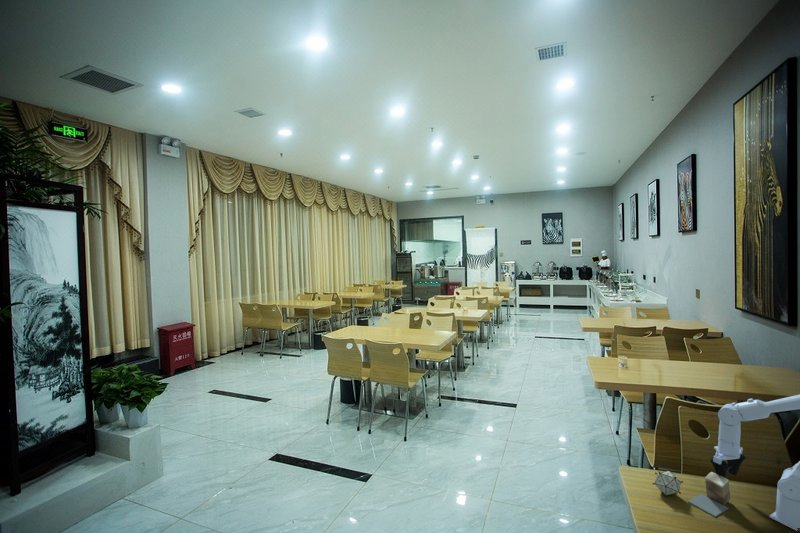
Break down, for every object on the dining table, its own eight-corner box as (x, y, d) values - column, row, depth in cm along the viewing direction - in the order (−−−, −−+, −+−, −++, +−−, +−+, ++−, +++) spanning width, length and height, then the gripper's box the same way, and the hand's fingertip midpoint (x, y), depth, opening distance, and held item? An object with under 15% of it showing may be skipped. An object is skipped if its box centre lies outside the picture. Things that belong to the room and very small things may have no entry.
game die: (673, 506, 139) (692, 495, 133) (648, 495, 141) (665, 484, 134) (669, 481, 146) (686, 469, 140) (645, 471, 147) (661, 459, 141)
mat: (728, 509, 132) (728, 507, 132) (715, 517, 129) (715, 516, 129) (701, 494, 139) (701, 493, 139) (688, 502, 136) (688, 501, 136)
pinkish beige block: (730, 499, 136) (728, 479, 134) (724, 505, 134) (722, 485, 132) (713, 490, 140) (711, 471, 138) (707, 497, 138) (705, 477, 137)
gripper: (726, 429, 144) (724, 465, 145) (704, 439, 138) (702, 477, 139) (750, 438, 138) (748, 475, 139) (728, 449, 131) (726, 488, 133)
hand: (726, 477), depth 138 cm, fingers open, 7 cm apart
